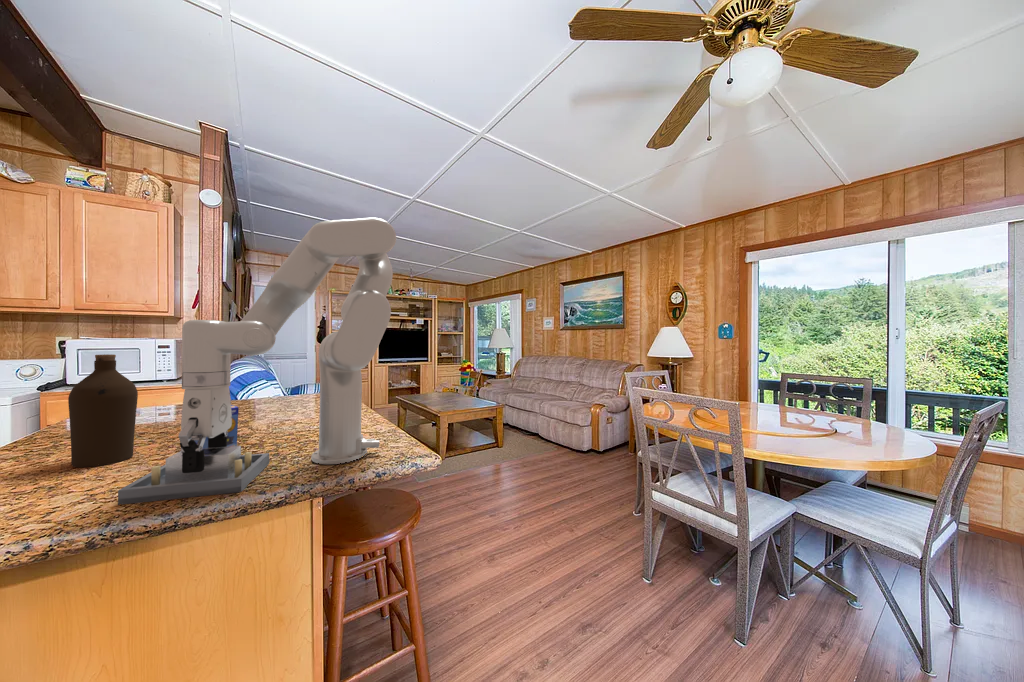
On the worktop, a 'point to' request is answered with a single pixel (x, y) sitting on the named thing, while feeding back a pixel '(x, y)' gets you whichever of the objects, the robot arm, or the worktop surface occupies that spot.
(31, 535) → the worktop surface
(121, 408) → the olive oil
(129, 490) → the pin tray
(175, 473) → the grey rectangular block
